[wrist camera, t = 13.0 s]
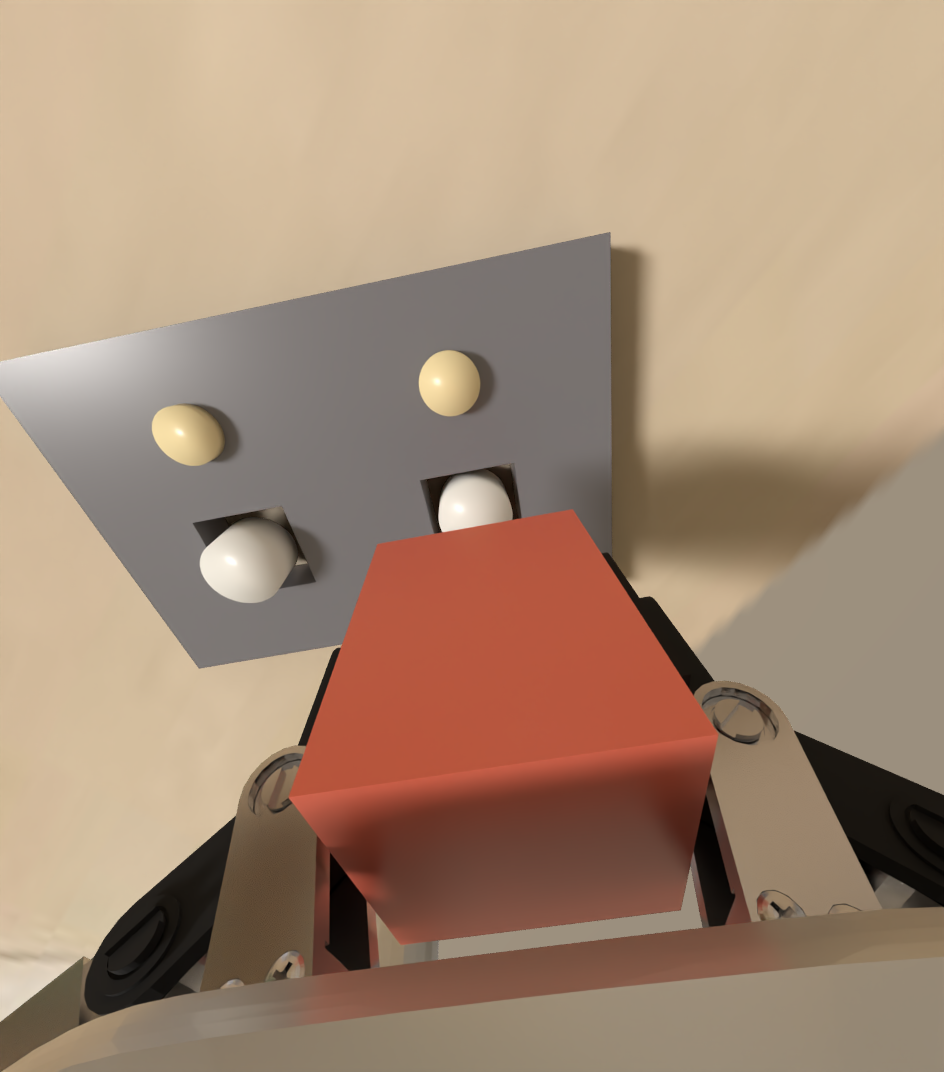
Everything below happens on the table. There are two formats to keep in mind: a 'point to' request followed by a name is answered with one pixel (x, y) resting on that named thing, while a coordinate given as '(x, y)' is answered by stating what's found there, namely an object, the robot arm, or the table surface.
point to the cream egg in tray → (473, 501)
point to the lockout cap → (505, 739)
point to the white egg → (249, 560)
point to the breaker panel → (330, 429)
